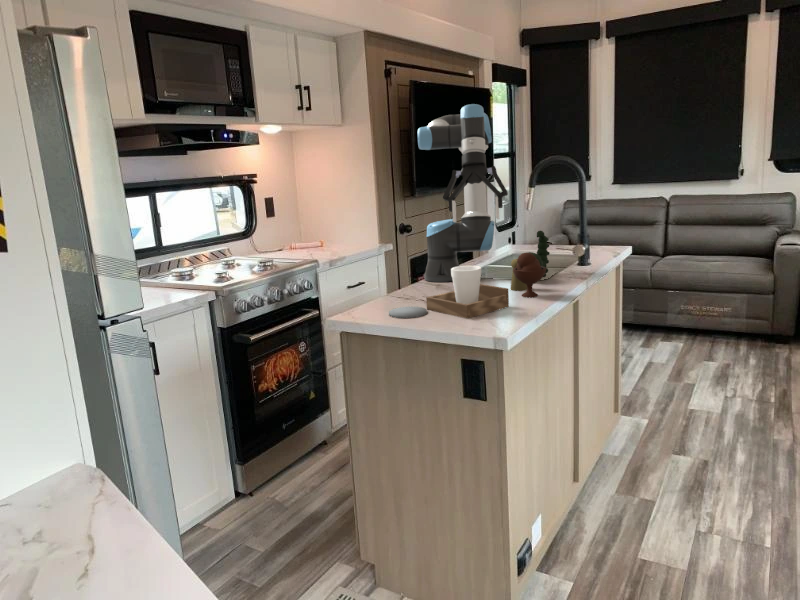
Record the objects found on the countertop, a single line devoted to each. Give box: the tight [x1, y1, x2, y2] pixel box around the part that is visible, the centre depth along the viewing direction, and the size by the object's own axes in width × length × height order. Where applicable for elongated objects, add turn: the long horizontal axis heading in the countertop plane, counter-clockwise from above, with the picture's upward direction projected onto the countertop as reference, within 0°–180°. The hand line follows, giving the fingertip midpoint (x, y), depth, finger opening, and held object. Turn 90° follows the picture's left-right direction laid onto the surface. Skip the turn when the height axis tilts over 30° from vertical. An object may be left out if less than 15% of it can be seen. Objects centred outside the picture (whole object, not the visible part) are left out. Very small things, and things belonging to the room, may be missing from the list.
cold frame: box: [425, 283, 510, 319], centre depth 197 cm, size 18×18×6 cm
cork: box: [510, 258, 527, 292], centre depth 220 cm, size 6×6×11 cm
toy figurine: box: [526, 230, 550, 278], centre depth 236 cm, size 9×19×25 cm
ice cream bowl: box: [512, 252, 547, 299], centre depth 208 cm, size 11×11×15 cm
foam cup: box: [451, 265, 482, 304], centre depth 197 cm, size 10×9×13 cm
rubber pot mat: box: [388, 306, 428, 319], centre depth 196 cm, size 12×12×1 cm
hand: (476, 220), depth 195 cm, fingers open, 13 cm apart
